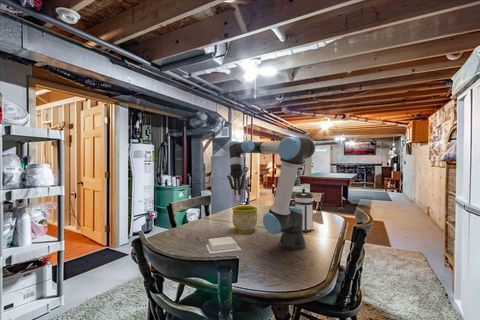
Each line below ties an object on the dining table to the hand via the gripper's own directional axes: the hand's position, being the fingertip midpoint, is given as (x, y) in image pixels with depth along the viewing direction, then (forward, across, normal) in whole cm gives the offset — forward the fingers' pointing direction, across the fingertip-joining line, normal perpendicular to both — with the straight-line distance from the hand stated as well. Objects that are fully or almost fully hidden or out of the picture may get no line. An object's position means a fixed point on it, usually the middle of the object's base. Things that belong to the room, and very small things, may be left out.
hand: (238, 200), depth 160 cm
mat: (+27, +6, +15) cm, 31 cm away
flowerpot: (+21, +4, -20) cm, 30 cm away
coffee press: (+24, -34, -36) cm, 55 cm away
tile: (+23, +10, +9) cm, 27 cm away
